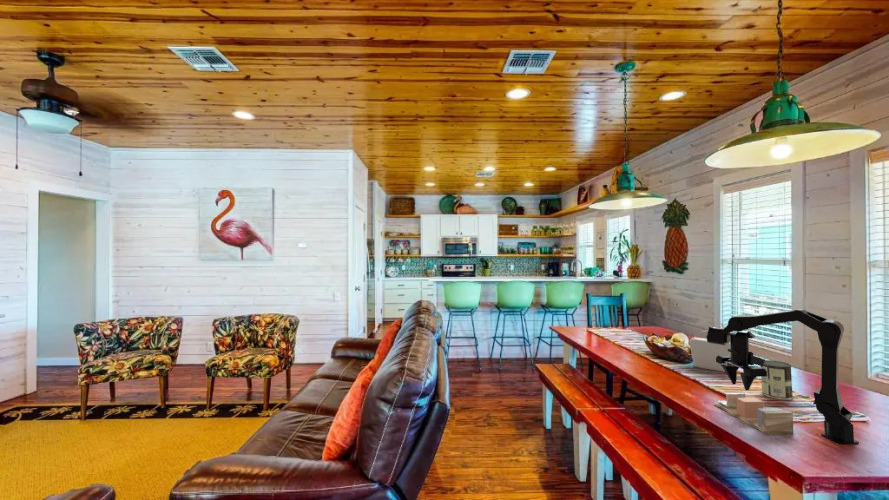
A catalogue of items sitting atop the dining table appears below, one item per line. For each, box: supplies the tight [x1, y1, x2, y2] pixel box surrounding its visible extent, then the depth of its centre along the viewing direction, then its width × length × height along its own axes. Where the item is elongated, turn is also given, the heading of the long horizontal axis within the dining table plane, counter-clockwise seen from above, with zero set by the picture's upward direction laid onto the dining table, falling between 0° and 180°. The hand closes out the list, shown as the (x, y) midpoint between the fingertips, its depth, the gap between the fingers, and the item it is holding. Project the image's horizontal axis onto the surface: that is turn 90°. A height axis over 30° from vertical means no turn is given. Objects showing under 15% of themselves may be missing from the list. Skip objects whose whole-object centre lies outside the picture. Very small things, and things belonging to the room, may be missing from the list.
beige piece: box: [714, 401, 795, 436], centre depth 142 cm, size 26×9×8 cm, turn 179°
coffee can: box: [760, 359, 794, 401], centre depth 162 cm, size 10×10×14 cm
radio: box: [688, 322, 731, 373], centre depth 200 cm, size 22×8×25 cm, turn 43°
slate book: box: [758, 407, 781, 427], centre depth 132 cm, size 3×7×6 cm, turn 89°
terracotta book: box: [736, 397, 765, 418], centre depth 142 cm, size 4×7×6 cm, turn 88°
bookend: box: [717, 392, 746, 408], centre depth 151 cm, size 6×7×6 cm
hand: (740, 387), depth 145 cm, fingers open, 6 cm apart
